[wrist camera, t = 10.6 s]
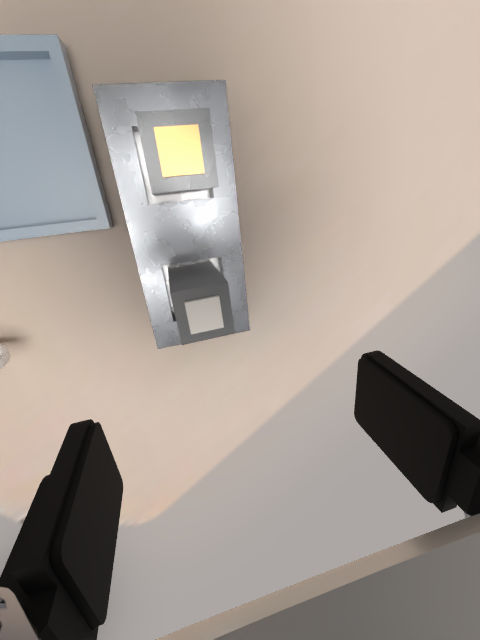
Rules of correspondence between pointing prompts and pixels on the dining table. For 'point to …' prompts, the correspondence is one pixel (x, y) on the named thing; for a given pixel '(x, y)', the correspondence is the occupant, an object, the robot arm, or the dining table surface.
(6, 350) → the cup
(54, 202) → the tray
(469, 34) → the dining table surface
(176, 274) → the plug
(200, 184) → the grey socket
